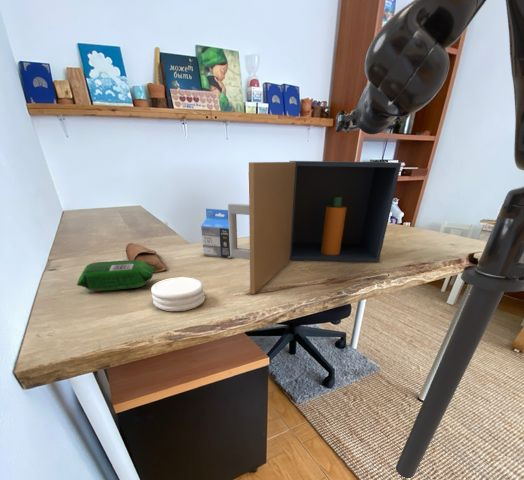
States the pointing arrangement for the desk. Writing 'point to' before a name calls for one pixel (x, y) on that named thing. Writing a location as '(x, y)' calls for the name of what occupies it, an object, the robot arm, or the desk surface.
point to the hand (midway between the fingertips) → (365, 125)
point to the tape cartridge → (216, 234)
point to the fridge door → (265, 220)
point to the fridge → (354, 198)
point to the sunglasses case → (144, 256)
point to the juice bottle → (333, 227)
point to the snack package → (115, 275)
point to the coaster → (178, 294)
